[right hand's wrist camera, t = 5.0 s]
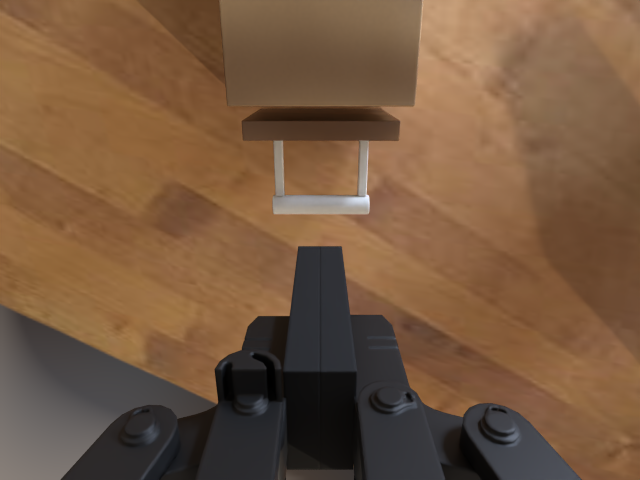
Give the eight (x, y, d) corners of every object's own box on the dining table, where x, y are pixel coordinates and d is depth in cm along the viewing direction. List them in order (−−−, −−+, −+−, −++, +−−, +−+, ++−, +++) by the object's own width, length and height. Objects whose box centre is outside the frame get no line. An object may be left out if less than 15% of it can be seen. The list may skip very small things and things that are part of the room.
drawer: (377, 191, 36) (393, 226, 28) (264, 191, 36) (248, 226, 28) (394, -153, 28) (425, -247, 19) (247, -153, 28) (216, -247, 19)
